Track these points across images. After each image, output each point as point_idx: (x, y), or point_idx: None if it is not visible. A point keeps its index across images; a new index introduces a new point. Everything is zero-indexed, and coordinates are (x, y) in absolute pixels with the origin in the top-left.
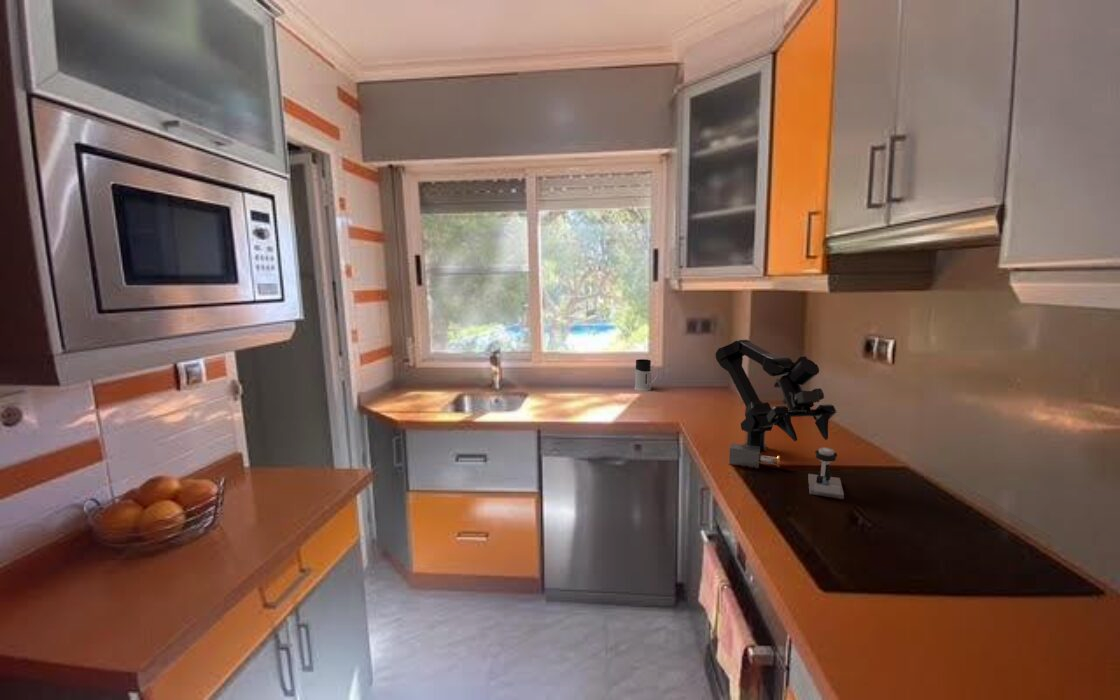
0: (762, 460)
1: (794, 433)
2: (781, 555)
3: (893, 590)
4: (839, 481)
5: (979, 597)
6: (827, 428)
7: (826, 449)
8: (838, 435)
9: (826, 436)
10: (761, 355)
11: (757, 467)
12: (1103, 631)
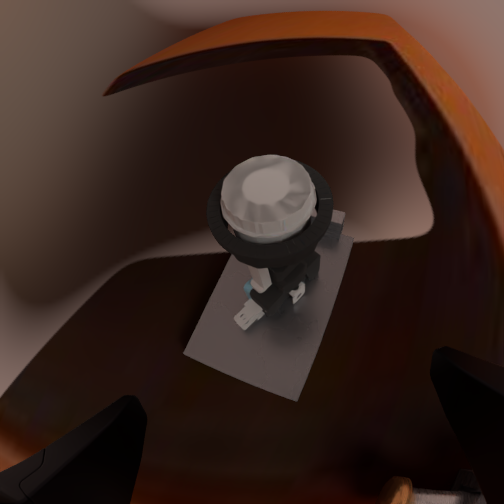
0: (455, 491)
1: (477, 367)
2: (427, 71)
3: (318, 39)
4: (204, 319)
5: (239, 43)
6: (59, 441)
7: (264, 188)
8: None
9: (127, 401)
10: None
11: (463, 469)
12: (180, 42)
